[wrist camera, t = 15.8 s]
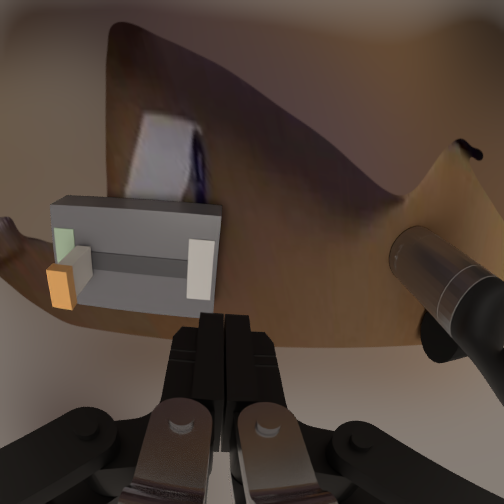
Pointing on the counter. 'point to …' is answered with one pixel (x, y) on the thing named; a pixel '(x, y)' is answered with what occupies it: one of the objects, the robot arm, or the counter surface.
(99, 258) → the breaker housing
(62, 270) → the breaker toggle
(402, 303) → the counter surface
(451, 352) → the black cylinder
